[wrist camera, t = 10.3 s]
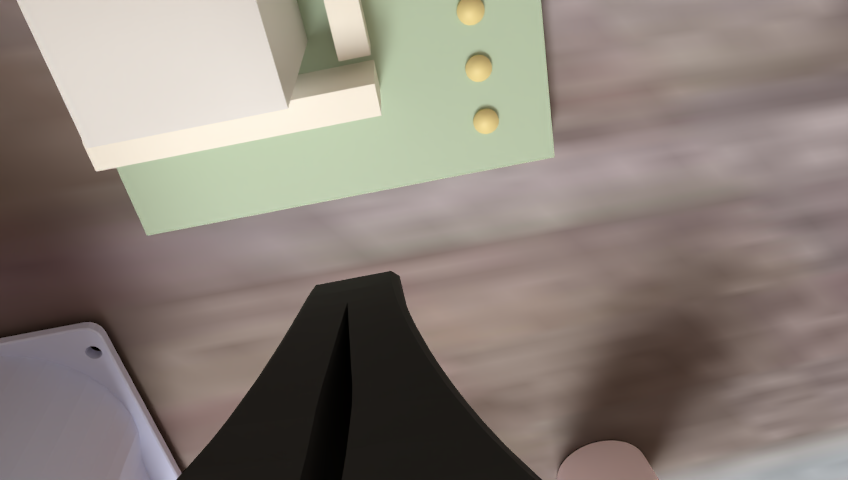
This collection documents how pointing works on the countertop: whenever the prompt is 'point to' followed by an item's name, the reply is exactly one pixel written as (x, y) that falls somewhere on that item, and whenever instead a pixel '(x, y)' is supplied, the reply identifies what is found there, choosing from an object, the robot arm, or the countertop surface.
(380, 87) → the board
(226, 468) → the robot arm
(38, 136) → the countertop surface
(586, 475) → the smoothie
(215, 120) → the white block
